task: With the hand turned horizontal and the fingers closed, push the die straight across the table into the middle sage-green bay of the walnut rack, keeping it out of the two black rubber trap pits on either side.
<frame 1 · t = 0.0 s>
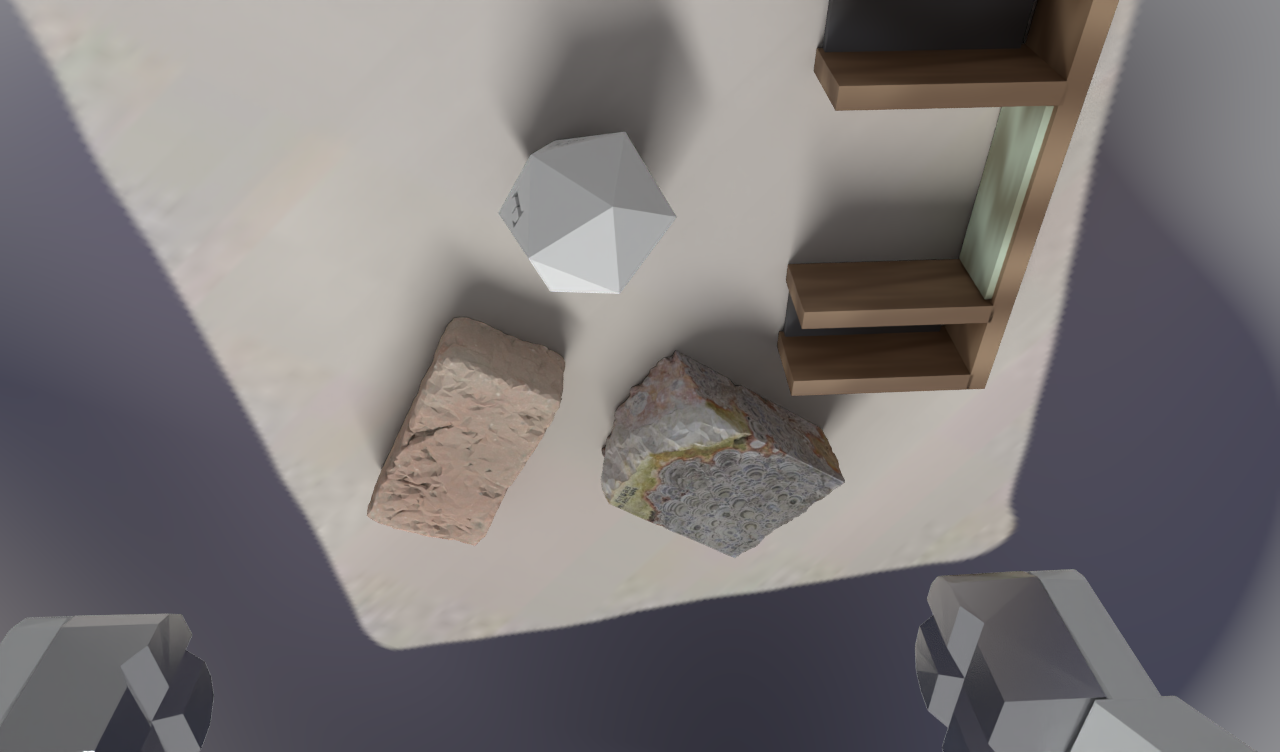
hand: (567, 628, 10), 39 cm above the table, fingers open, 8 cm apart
brick: (467, 414, 60), on the table
die: (585, 178, 49), on the table
geological specimen: (707, 434, 63), on the table
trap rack: (900, 172, 50), on the table
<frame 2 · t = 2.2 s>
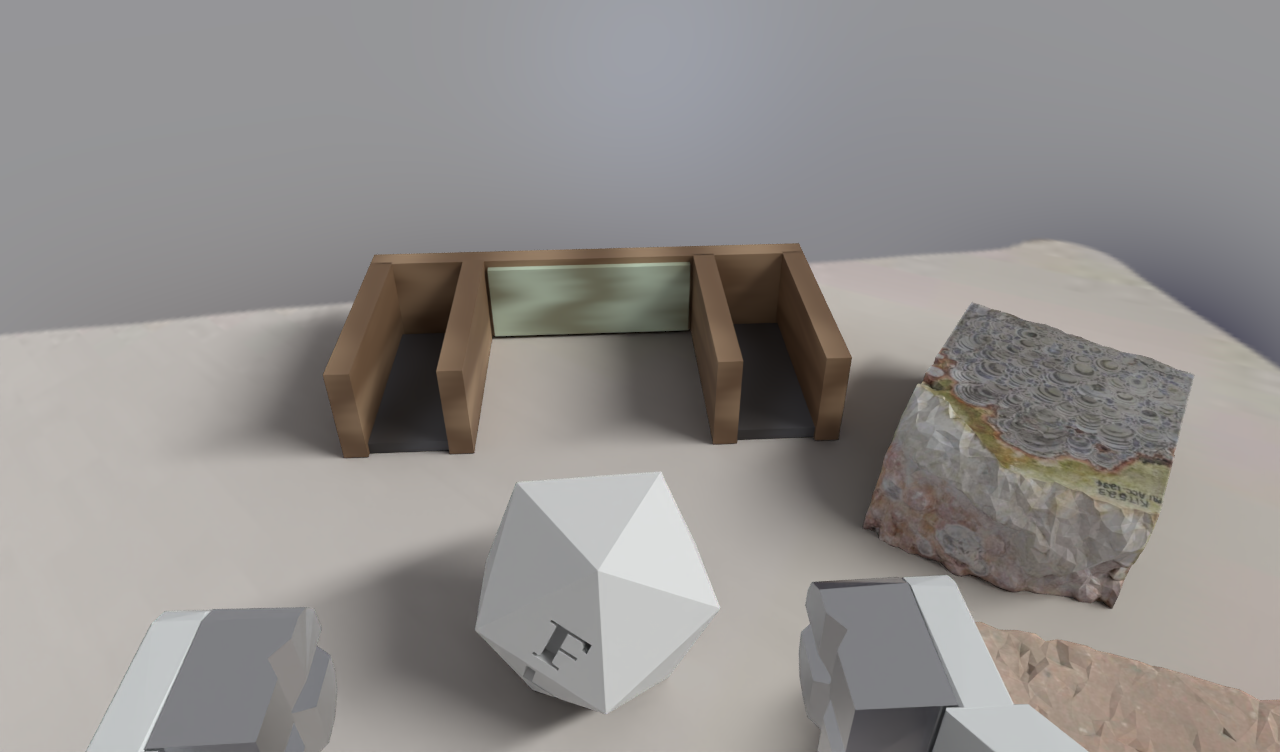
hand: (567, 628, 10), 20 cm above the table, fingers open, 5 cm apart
die: (598, 654, 34), on the table
geological specimen: (1018, 489, 42), on the table
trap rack: (593, 381, 48), on the table
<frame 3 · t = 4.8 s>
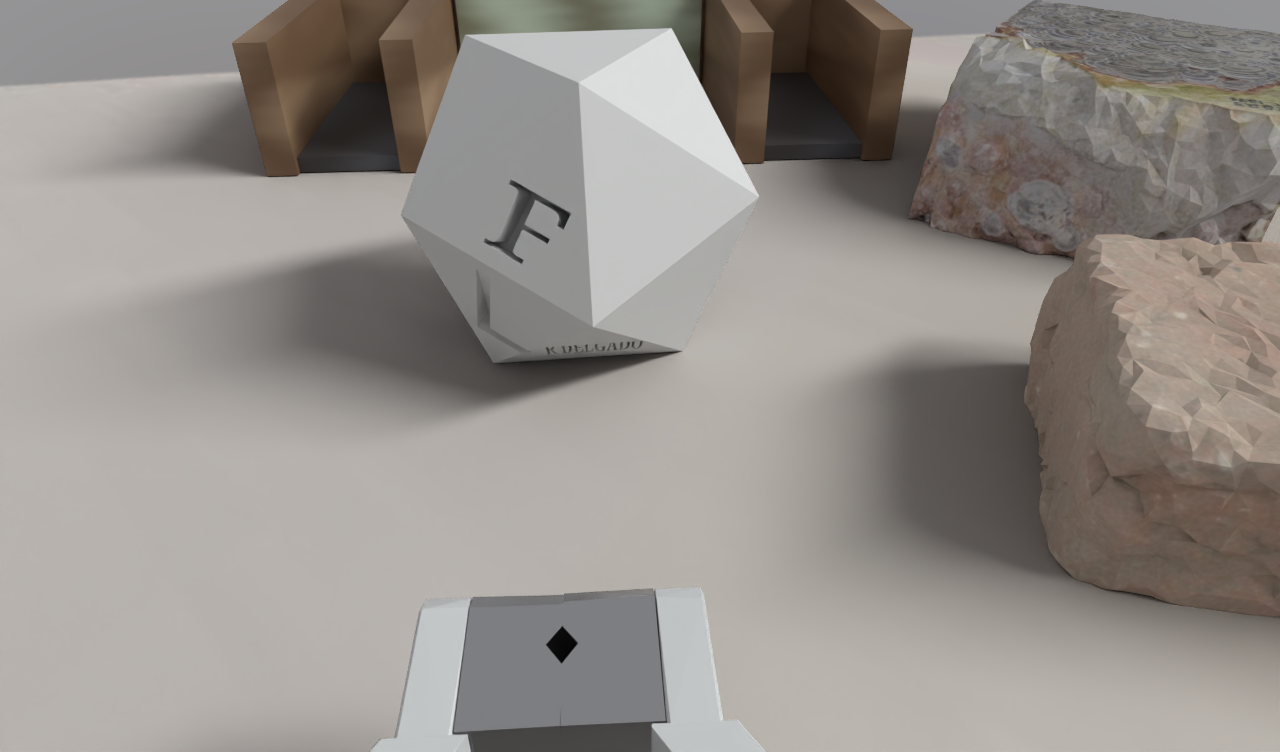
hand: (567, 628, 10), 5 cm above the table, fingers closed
die: (586, 334, 24), on the table
geological specimen: (1100, 195, 33), on the table
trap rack: (583, 120, 39), on the table
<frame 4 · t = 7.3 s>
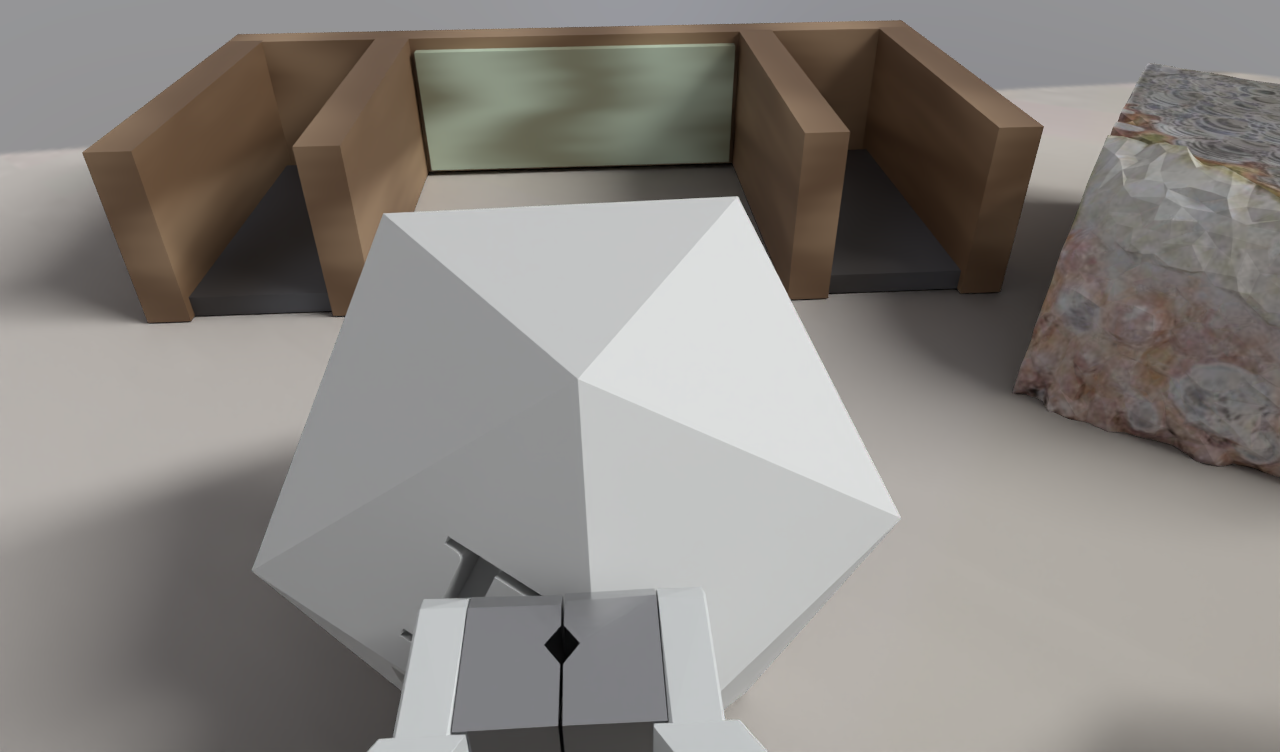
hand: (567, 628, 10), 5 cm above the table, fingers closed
die: (590, 642, 16), on the table, touching gripper
geological specimen: (1260, 340, 24), on the table
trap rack: (582, 222, 30), on the table
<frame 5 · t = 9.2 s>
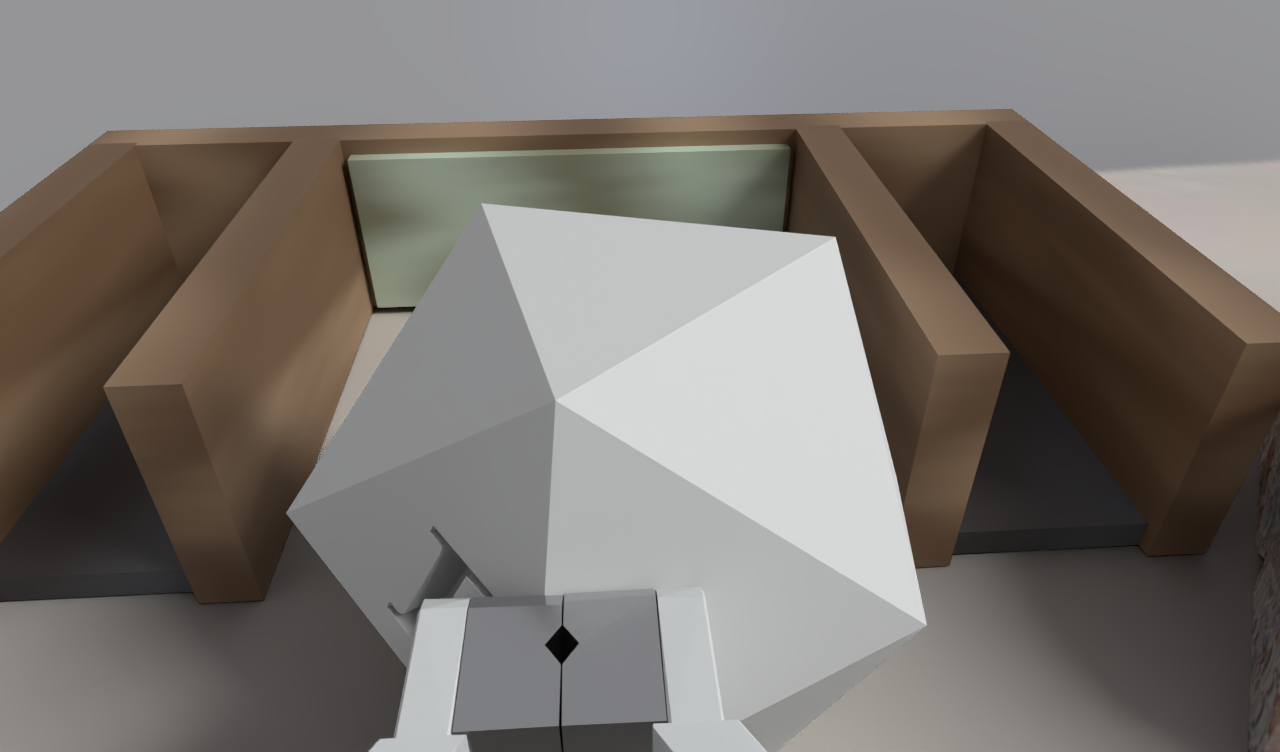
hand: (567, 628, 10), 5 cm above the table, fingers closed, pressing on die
die: (631, 661, 15), on the table, touching gripper
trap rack: (580, 404, 21), on the table
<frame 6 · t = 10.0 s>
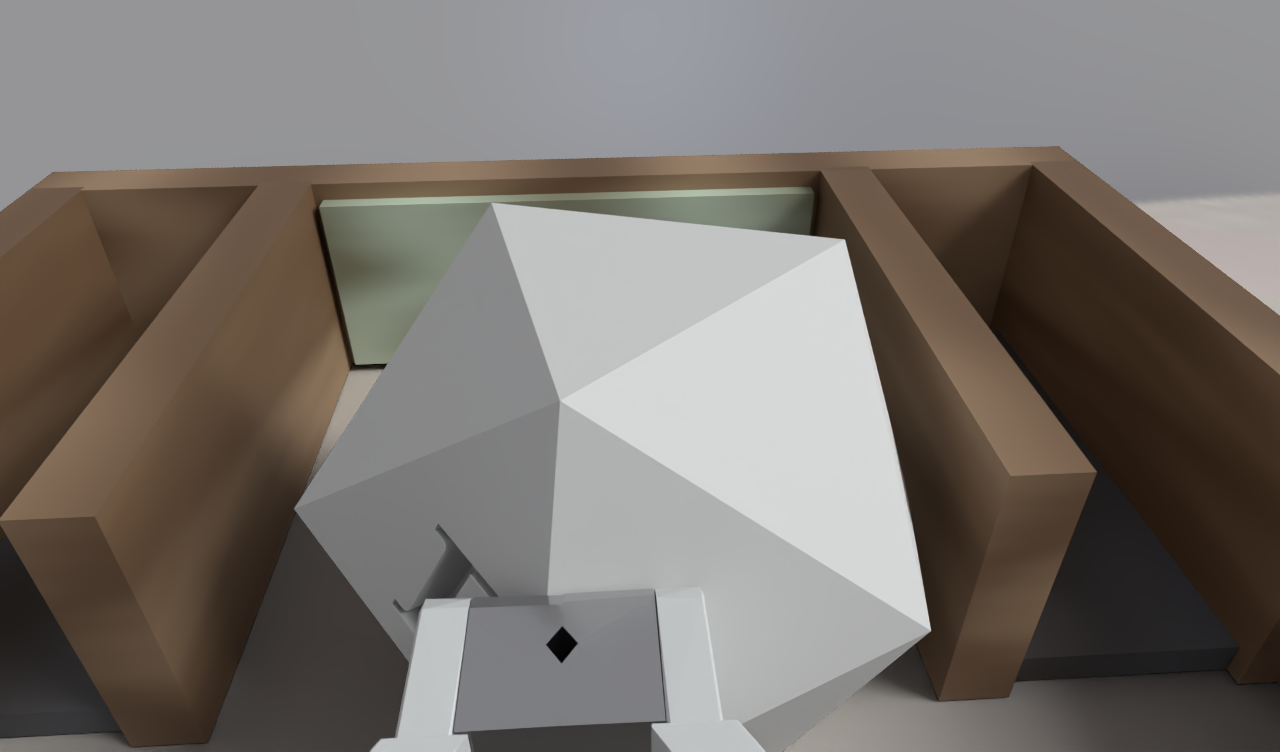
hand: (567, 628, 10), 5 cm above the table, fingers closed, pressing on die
die: (637, 661, 15), on the table, touching gripper
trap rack: (579, 484, 19), on the table
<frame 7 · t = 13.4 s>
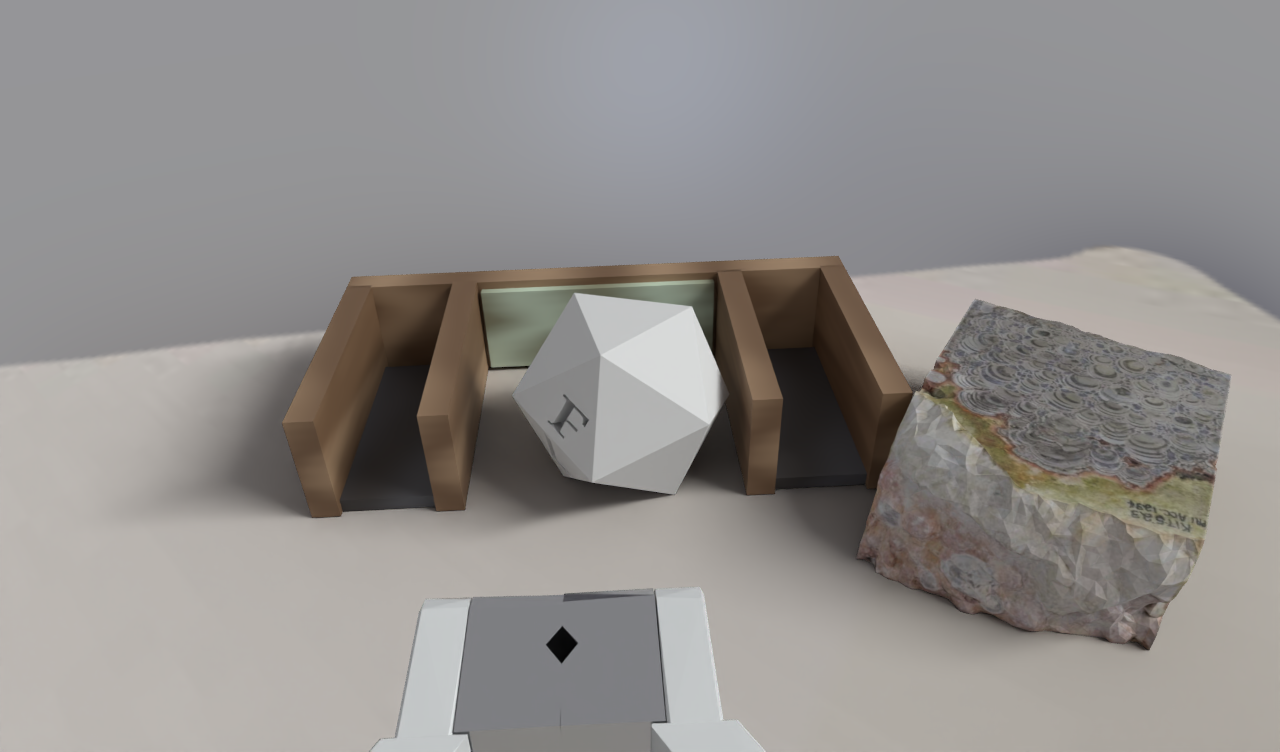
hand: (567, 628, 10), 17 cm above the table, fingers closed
die: (627, 467, 39), on the table
geological specimen: (1033, 509, 37), on the table
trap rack: (604, 420, 42), on the table
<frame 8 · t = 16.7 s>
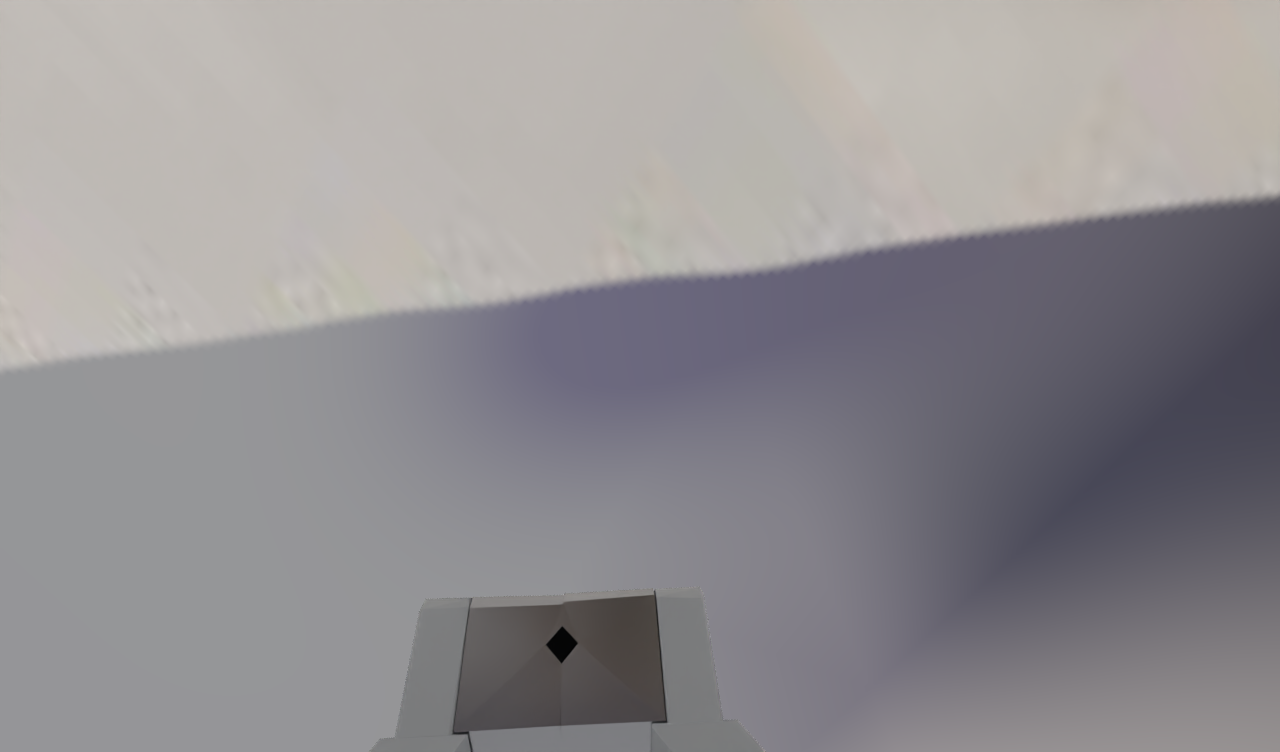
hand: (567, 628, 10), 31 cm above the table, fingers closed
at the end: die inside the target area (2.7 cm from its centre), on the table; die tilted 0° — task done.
